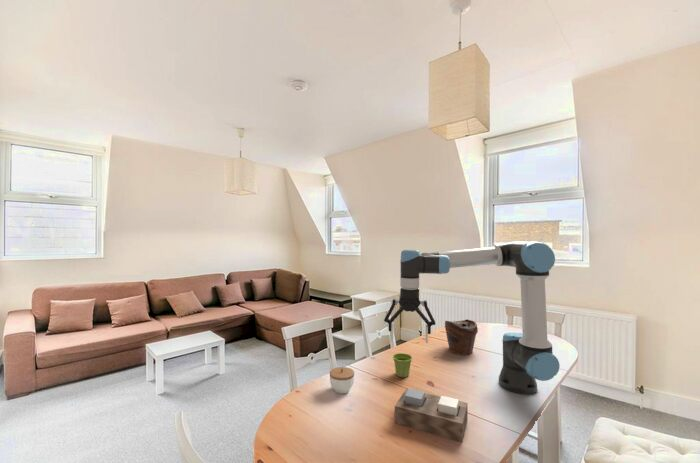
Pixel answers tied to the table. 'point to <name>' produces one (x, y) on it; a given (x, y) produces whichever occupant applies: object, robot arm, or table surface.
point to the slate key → (415, 397)
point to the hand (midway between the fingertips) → (409, 340)
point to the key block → (432, 417)
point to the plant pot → (402, 364)
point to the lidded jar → (341, 379)
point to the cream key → (448, 405)
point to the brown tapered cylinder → (461, 336)
